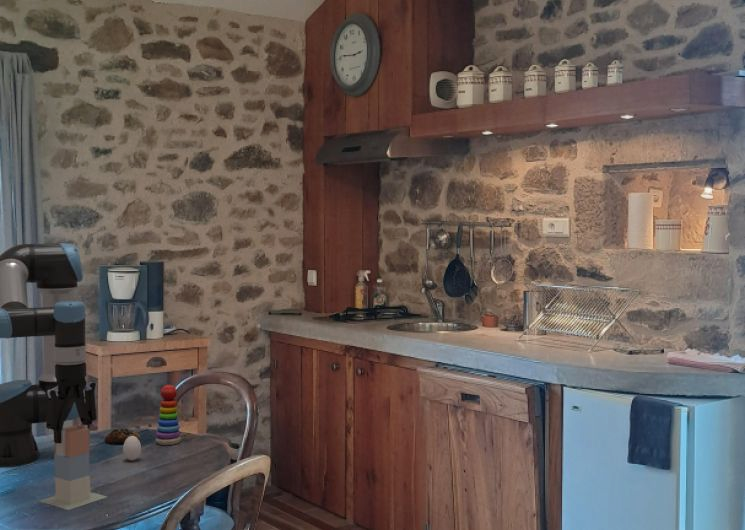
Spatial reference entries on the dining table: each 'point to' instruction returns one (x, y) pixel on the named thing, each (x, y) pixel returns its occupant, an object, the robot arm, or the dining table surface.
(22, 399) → the robot arm
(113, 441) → the bread roll
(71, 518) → the dining table surface
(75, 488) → the block
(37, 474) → the dining table surface
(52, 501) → the plate
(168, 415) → the stacking toy
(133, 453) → the egg
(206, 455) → the dining table surface
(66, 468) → the block
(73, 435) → the block
